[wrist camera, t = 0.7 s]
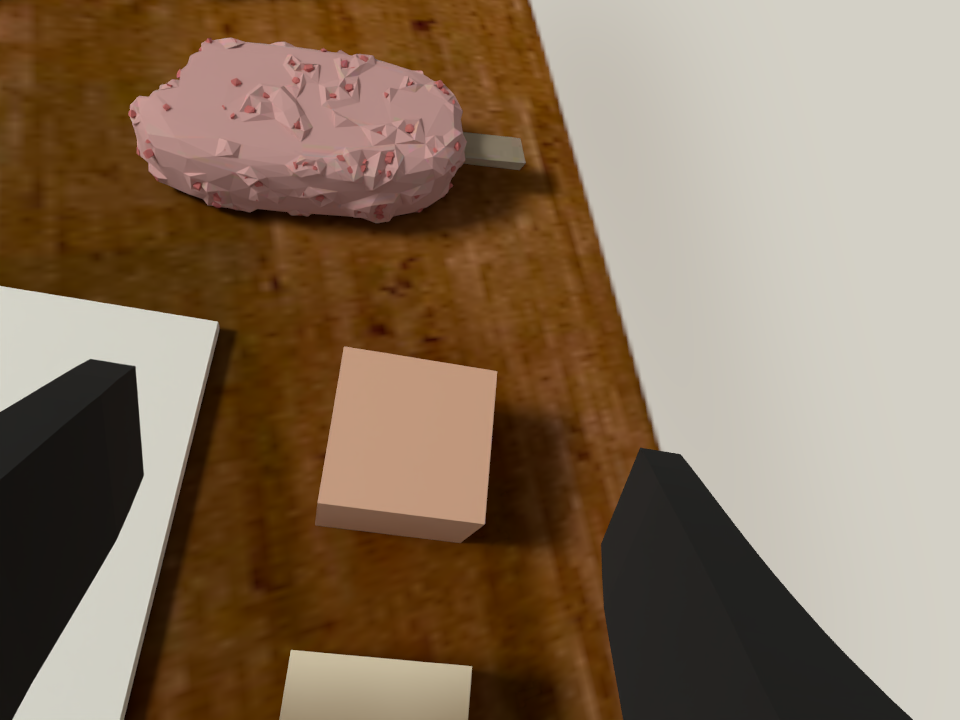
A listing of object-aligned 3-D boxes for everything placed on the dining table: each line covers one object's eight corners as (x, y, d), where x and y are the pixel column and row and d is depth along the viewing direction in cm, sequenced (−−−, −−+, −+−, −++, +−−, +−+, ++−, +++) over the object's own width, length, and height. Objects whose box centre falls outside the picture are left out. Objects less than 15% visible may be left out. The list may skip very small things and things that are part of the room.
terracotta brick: (459, 543, 26) (484, 524, 23) (315, 525, 25) (317, 502, 22) (472, 408, 28) (497, 371, 25) (338, 388, 27) (344, 346, 24)
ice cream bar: (544, 194, 28) (111, 151, 24) (512, 249, 32) (135, 218, 28) (533, 58, 30) (134, 1, 27) (504, 125, 34) (153, 82, 30)
